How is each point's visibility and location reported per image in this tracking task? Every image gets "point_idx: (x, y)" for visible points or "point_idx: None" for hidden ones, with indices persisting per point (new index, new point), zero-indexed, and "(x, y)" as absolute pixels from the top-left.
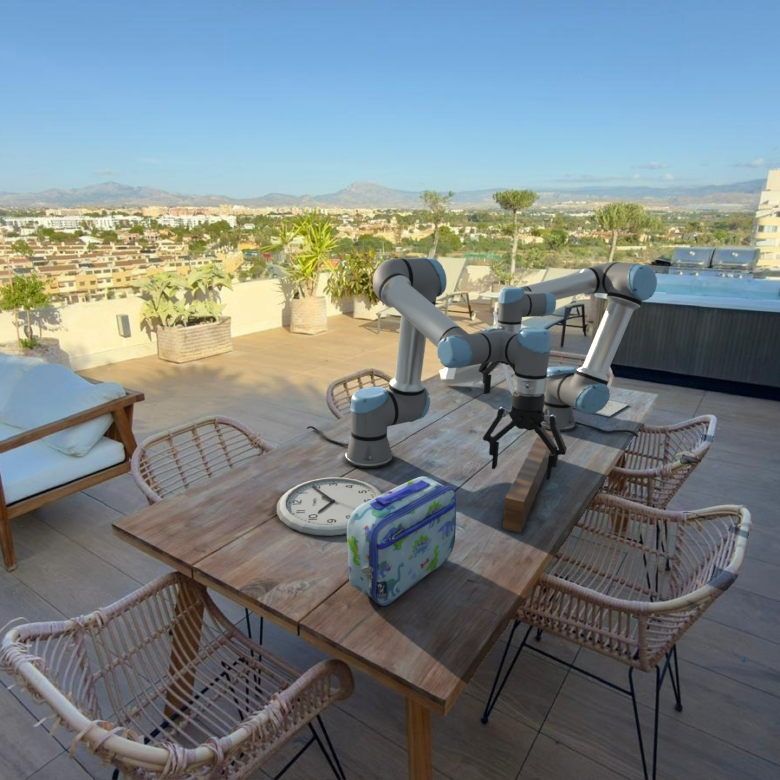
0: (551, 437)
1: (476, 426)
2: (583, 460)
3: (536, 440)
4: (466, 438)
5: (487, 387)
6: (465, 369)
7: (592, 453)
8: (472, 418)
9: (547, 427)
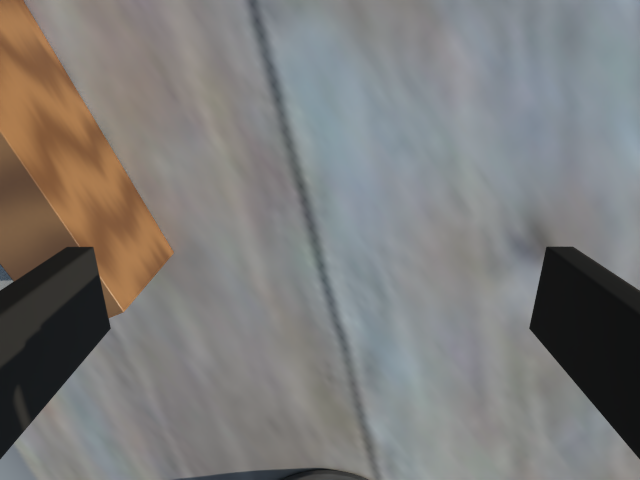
0: (6, 268)
1: None
2: None
3: (9, 159)
4: (511, 151)
5: (586, 320)
6: None
7: (64, 408)
8: None
9: (310, 477)
